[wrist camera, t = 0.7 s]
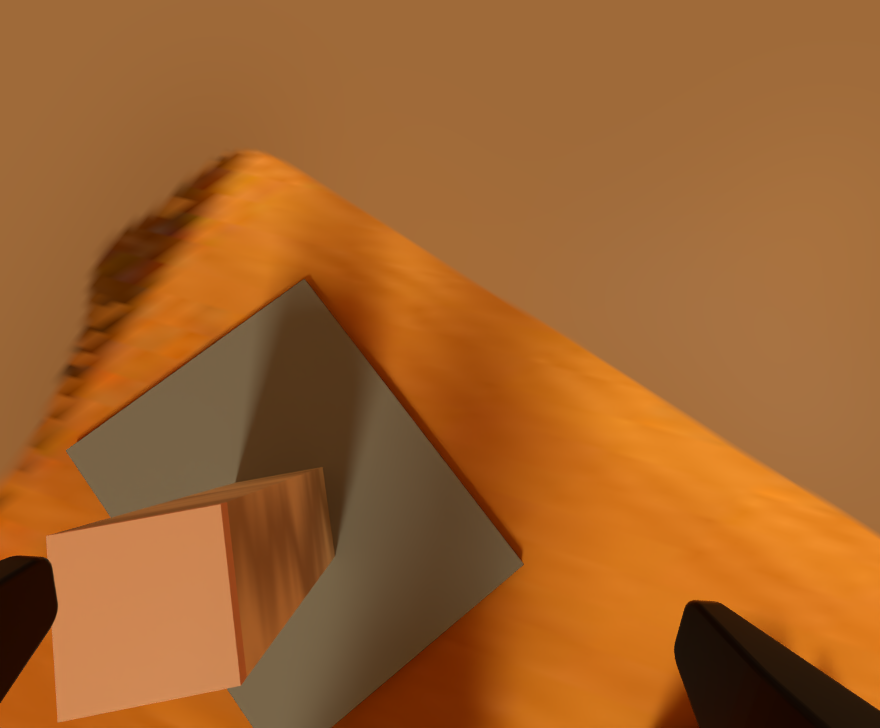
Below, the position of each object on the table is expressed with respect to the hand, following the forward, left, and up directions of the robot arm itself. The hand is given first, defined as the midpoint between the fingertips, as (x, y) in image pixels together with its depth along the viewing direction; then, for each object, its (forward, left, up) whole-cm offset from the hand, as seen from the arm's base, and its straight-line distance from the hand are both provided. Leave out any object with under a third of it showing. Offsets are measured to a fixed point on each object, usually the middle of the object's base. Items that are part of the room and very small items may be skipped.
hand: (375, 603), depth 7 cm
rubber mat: (-6, +3, -18) cm, 19 cm away
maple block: (-7, +2, -18) cm, 19 cm away
